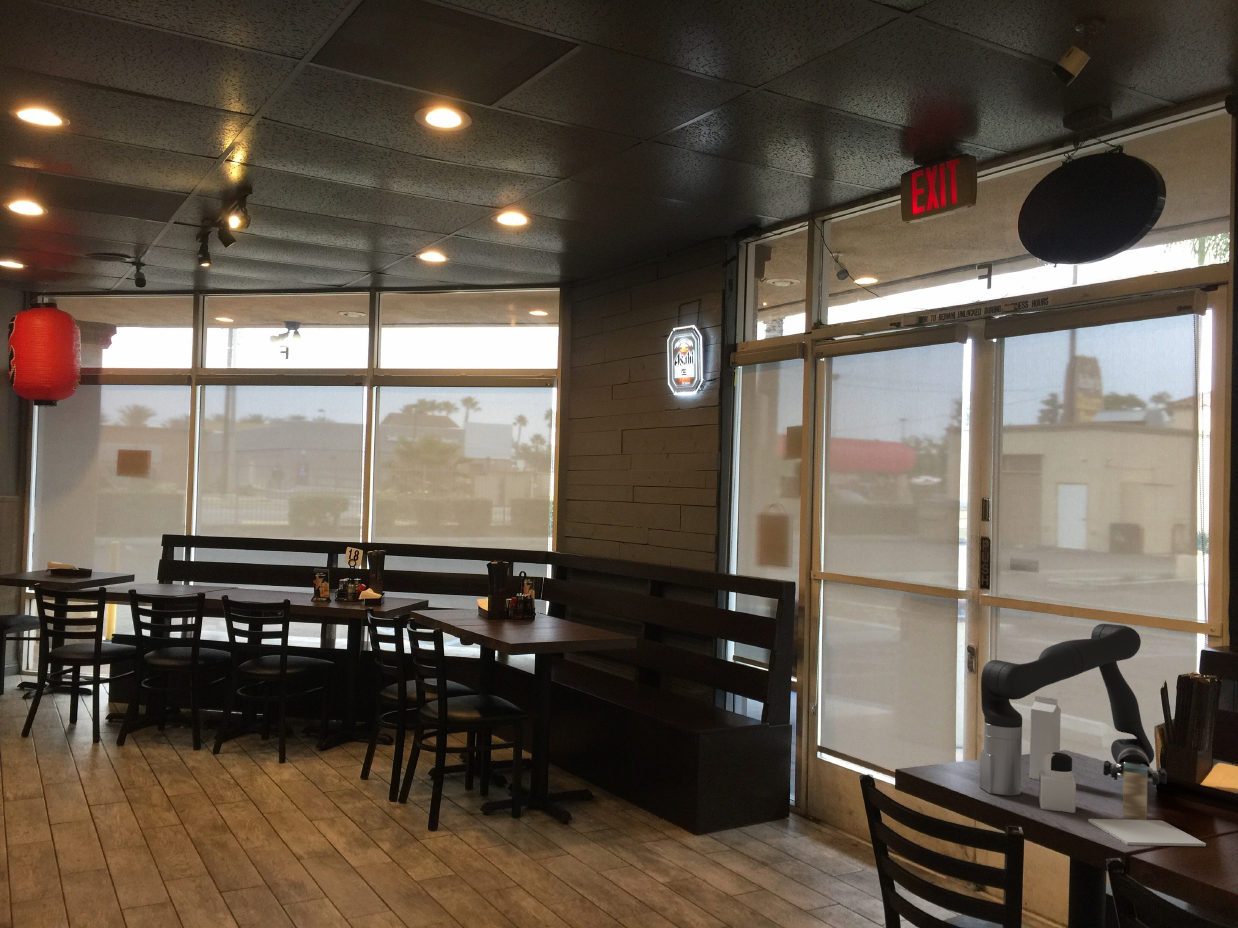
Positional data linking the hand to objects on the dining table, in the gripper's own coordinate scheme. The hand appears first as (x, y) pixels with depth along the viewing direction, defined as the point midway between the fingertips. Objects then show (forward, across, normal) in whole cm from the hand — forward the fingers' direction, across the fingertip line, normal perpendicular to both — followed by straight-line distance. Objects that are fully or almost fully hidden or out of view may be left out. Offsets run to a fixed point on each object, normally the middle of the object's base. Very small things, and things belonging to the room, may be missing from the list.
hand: (1135, 778), depth 249 cm
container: (+12, -17, +7) cm, 22 cm away
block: (+9, 0, +7) cm, 12 cm away
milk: (-16, -22, +7) cm, 28 cm away
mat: (+22, +2, +7) cm, 24 cm away
